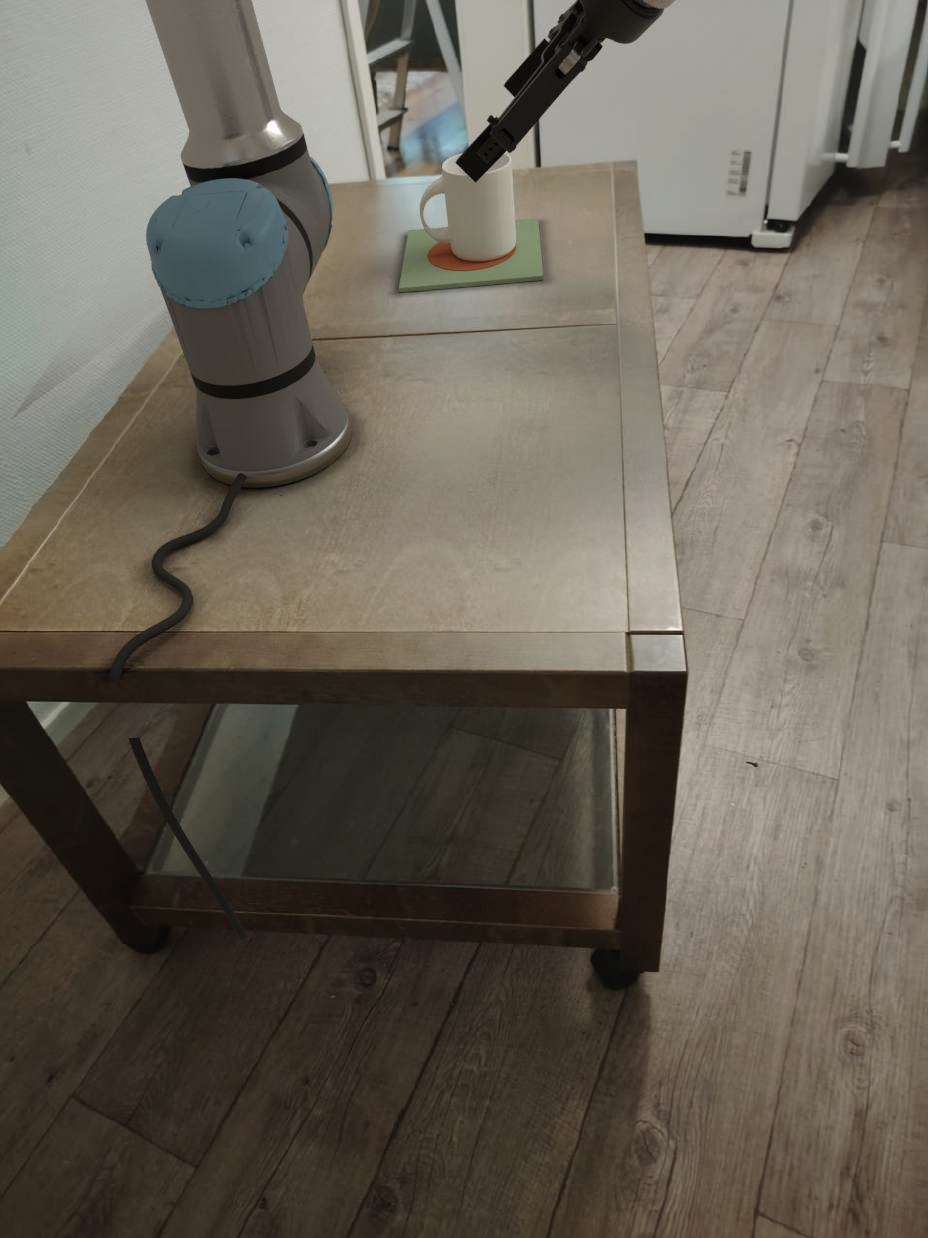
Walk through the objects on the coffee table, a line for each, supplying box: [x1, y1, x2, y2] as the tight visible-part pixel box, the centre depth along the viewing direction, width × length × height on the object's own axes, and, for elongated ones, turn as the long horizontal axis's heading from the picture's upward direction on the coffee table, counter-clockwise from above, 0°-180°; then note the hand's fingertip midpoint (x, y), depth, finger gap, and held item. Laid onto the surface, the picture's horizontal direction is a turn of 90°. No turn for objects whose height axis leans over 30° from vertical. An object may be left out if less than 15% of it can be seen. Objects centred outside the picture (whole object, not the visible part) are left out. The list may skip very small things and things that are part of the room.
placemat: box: [398, 218, 544, 293], centre depth 117 cm, size 18×18×1 cm
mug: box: [419, 152, 516, 262], centre depth 113 cm, size 9×12×11 cm
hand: (490, 130), depth 92 cm, fingers open, 13 cm apart
